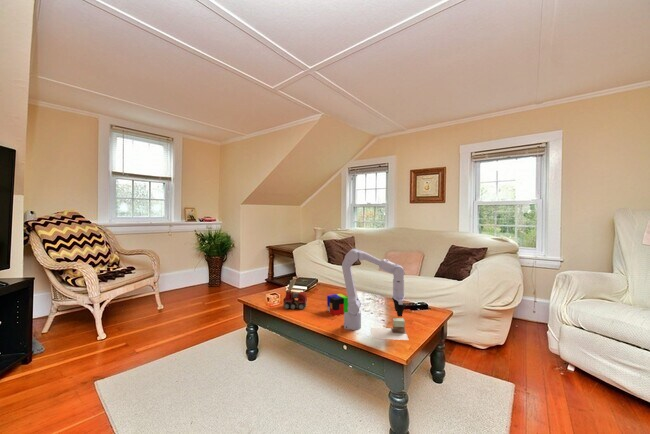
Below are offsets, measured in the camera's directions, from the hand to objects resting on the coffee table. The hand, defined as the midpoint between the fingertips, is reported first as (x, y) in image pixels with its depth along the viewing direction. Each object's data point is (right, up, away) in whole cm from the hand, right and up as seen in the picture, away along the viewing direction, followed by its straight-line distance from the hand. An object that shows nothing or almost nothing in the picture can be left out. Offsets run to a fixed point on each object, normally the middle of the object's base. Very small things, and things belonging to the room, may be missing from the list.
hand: (398, 313), depth 145 cm
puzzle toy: (-31, -10, +32) cm, 46 cm away
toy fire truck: (-59, -11, +42) cm, 74 cm away
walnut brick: (0, -9, 0) cm, 9 cm away
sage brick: (0, -6, 0) cm, 6 cm away
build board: (-6, -11, -3) cm, 12 cm away
